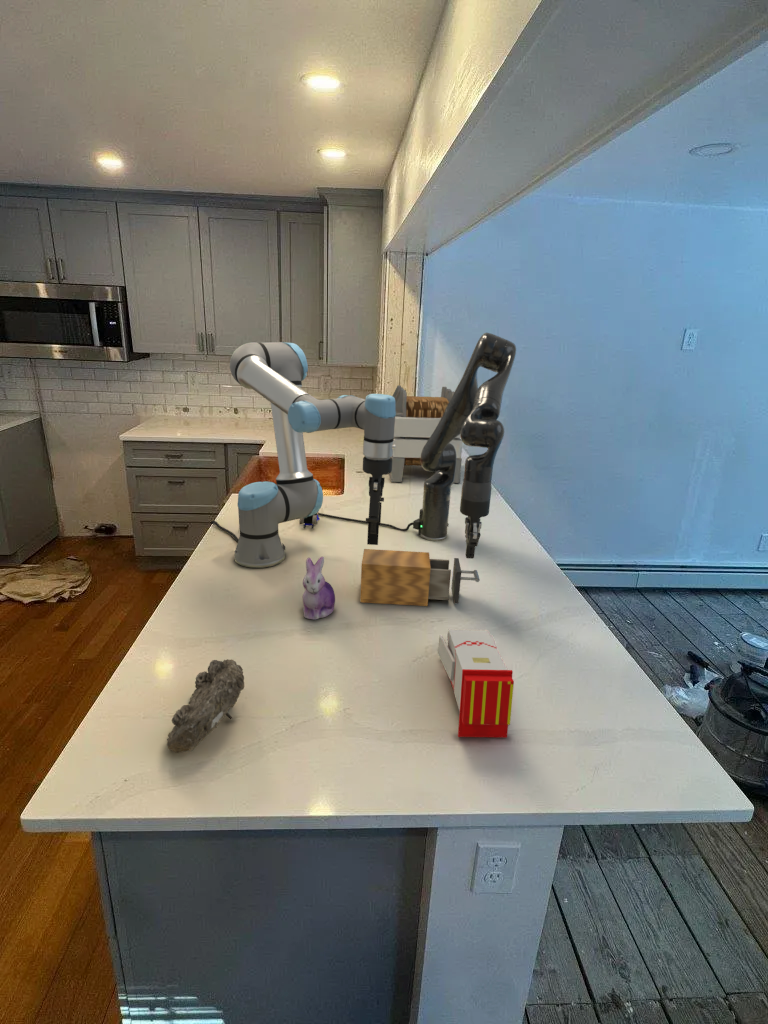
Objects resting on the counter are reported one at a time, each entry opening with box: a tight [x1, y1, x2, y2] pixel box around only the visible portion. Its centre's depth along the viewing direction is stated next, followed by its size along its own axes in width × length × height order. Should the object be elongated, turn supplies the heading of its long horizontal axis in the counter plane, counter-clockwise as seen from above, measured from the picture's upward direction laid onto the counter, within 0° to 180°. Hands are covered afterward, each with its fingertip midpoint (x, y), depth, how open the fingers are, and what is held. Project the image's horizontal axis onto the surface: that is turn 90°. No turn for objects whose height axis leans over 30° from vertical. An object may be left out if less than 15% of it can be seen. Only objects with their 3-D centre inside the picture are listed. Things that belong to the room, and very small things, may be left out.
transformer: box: [388, 384, 464, 484], centre depth 268 cm, size 34×33×41 cm
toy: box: [437, 628, 515, 738], centre depth 117 cm, size 12×13×30 cm
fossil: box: [166, 658, 245, 754], centre depth 106 cm, size 22×10×15 cm
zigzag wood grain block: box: [359, 548, 431, 607], centre depth 155 cm, size 18×10×11 cm, turn 88°
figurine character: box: [298, 511, 320, 530], centre depth 204 cm, size 7×8×15 cm
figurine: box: [302, 556, 336, 621], centre depth 144 cm, size 9×10×15 cm
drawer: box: [428, 557, 481, 605], centre depth 155 cm, size 22×9×10 cm, turn 88°
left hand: (374, 534), depth 151 cm, fingers open, 13 cm apart
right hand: (469, 557), depth 152 cm, fingers closed
